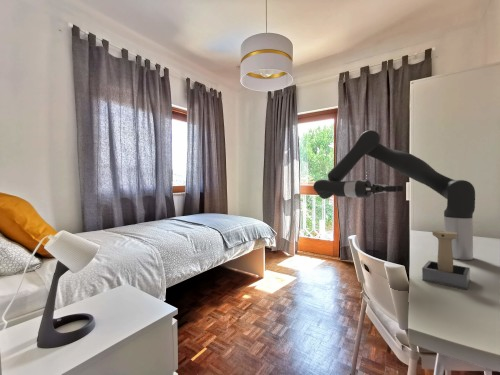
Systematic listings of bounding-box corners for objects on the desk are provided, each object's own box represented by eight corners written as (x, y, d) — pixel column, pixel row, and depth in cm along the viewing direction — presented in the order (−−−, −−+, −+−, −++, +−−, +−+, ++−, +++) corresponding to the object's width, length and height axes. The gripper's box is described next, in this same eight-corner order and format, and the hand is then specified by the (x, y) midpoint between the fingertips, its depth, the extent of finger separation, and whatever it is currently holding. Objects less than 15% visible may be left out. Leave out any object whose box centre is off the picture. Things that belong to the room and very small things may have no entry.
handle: (456, 282, 73) (455, 234, 73) (431, 276, 78) (430, 231, 78) (460, 278, 76) (459, 232, 76) (435, 273, 81) (434, 230, 81)
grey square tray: (429, 271, 85) (428, 260, 85) (469, 279, 77) (469, 267, 77) (422, 280, 77) (422, 267, 77) (467, 290, 69) (466, 276, 69)
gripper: (350, 180, 98) (394, 178, 86) (363, 180, 108) (405, 179, 96) (350, 198, 98) (394, 199, 86) (364, 196, 108) (405, 197, 96)
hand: (400, 188), depth 91 cm, fingers open, 8 cm apart
